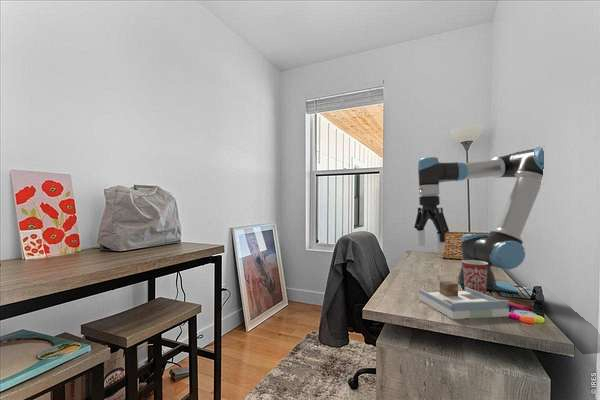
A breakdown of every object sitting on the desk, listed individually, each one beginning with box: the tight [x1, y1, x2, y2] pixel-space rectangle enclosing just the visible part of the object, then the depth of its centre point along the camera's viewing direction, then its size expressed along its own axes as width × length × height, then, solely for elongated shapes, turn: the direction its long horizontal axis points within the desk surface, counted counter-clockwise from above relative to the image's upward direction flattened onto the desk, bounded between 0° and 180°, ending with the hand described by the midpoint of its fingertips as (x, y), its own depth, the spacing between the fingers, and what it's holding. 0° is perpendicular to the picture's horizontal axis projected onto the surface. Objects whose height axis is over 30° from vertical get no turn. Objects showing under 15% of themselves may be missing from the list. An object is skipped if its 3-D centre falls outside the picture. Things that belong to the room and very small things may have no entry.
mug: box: [461, 260, 488, 295], centre depth 120 cm, size 13×9×14 cm
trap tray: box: [418, 287, 510, 320], centre depth 104 cm, size 20×20×5 cm
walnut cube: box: [439, 280, 459, 297], centre depth 111 cm, size 4×4×4 cm
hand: (430, 248), depth 119 cm, fingers open, 13 cm apart
